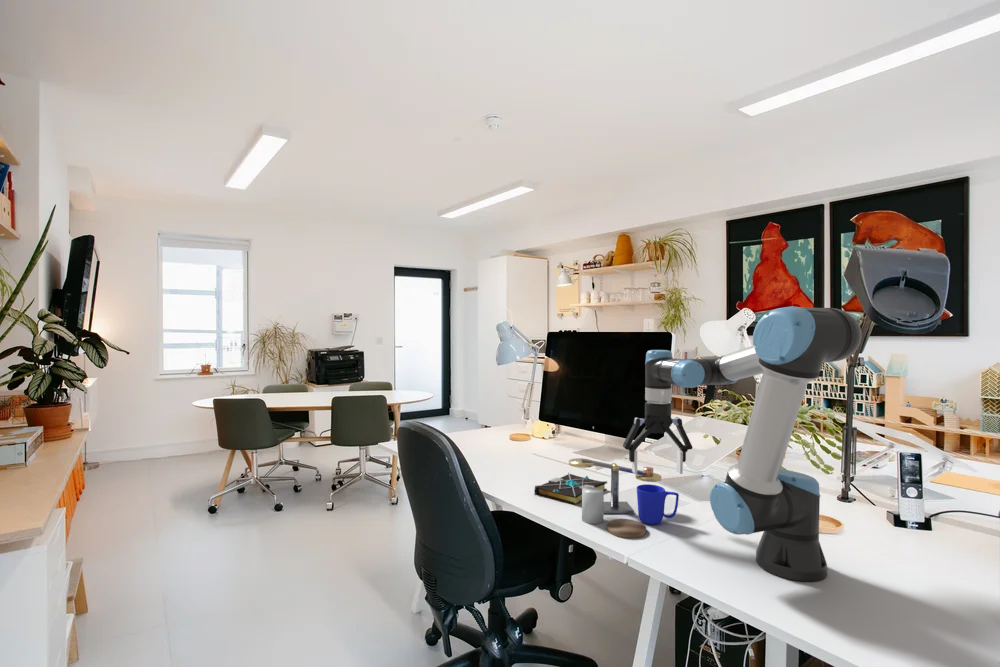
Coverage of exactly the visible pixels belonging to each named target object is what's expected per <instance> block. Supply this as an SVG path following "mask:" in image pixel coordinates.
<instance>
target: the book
mask: <svg viewBox="0 0 1000 667" xmlns="http://www.w3.org/2000/svg"><path fill="white" fill-rule="evenodd" d="M606 484H608V481H607V480H606V481H605V480H604V481H601V480H597V479H596V480H595V479H591V478H589V477H588V475H586V476H584V477H583V476H579V475H576V474H572V473H570V472H568V473H567V474H565V475H563V476H561V477H553V478H551V479H549V480H548V482H545V483H543V484H540V485H537V484H536V485H534V493H533V494H534V496H541V497H546V498H550V499H554V500H556V501H557V500H558V501H562V502H564V503H568V504H570V505H571V504H572V505H575V506H577V505H579V504H580V503H582V489H583V488H586V487H596V488H600V489H602V490H603V491H604V492H605V491H607V488H606V487H605V486H606Z"/></svg>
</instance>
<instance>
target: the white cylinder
mask: <svg viewBox="0 0 1000 667" xmlns="http://www.w3.org/2000/svg"><path fill="white" fill-rule="evenodd" d="M604 492H605V491H603V490H602V489H600V488H596V487H586V488H583V489H582V501H581V521H582V522H584V523H586V524H588V525H599V524H602V523H604V517H605V516H604V515H605V514H604V502H605V501H604V500H605V499H604V497H605V494H604Z"/></svg>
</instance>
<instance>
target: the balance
mask: <svg viewBox="0 0 1000 667" xmlns="http://www.w3.org/2000/svg"><path fill="white" fill-rule="evenodd" d="M568 465H569V466H571V467H574V468H579V469H580V468H583V469H584V468H591V467H594V466H595V467H600V468H603V469H604V468H605V469H610V501H604V515H608V514H609V513H610V515H612V514H611V513H613V515H615V514H614V513H634V514H635V510H634V509H633V507H632V506H631V505H630V504H629V503H628V501H619V500H620V498H619V496H620V495H619V494H620V493H619V492H620V491H619V489H620V486H619V484H620V483H619V482H620V476H619V475H620V474H619V473H620V472H624V473H629V474H633V475H635V477H634V478H635V479H636V480H638V481H642V482H648V483H657V482H660V481H662V475H660V474H659V473H655V472H654V467H652V466H644V467H643V470H641V469H637V474H634V473H633V472H632V467H625V466H620V465H618V464H617V463H616V462H612V463H606V462H602V461H596V460H593V459H589V458H580V457H579V458H571V459H569V460H568Z"/></svg>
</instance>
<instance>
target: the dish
mask: <svg viewBox="0 0 1000 667" xmlns="http://www.w3.org/2000/svg"><path fill="white" fill-rule="evenodd" d="M606 531H607V532H608V533H609V534H610V535H612V536H614V537H618V538H624V539H638V538H643V537H644V536H646V535H647V526H646V525H645V523H643V522H641V521H636V520H634V519H629V518H628V519H627V518H625V519H624V518H615V519H612V520H609V521H608V522H606Z"/></svg>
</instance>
